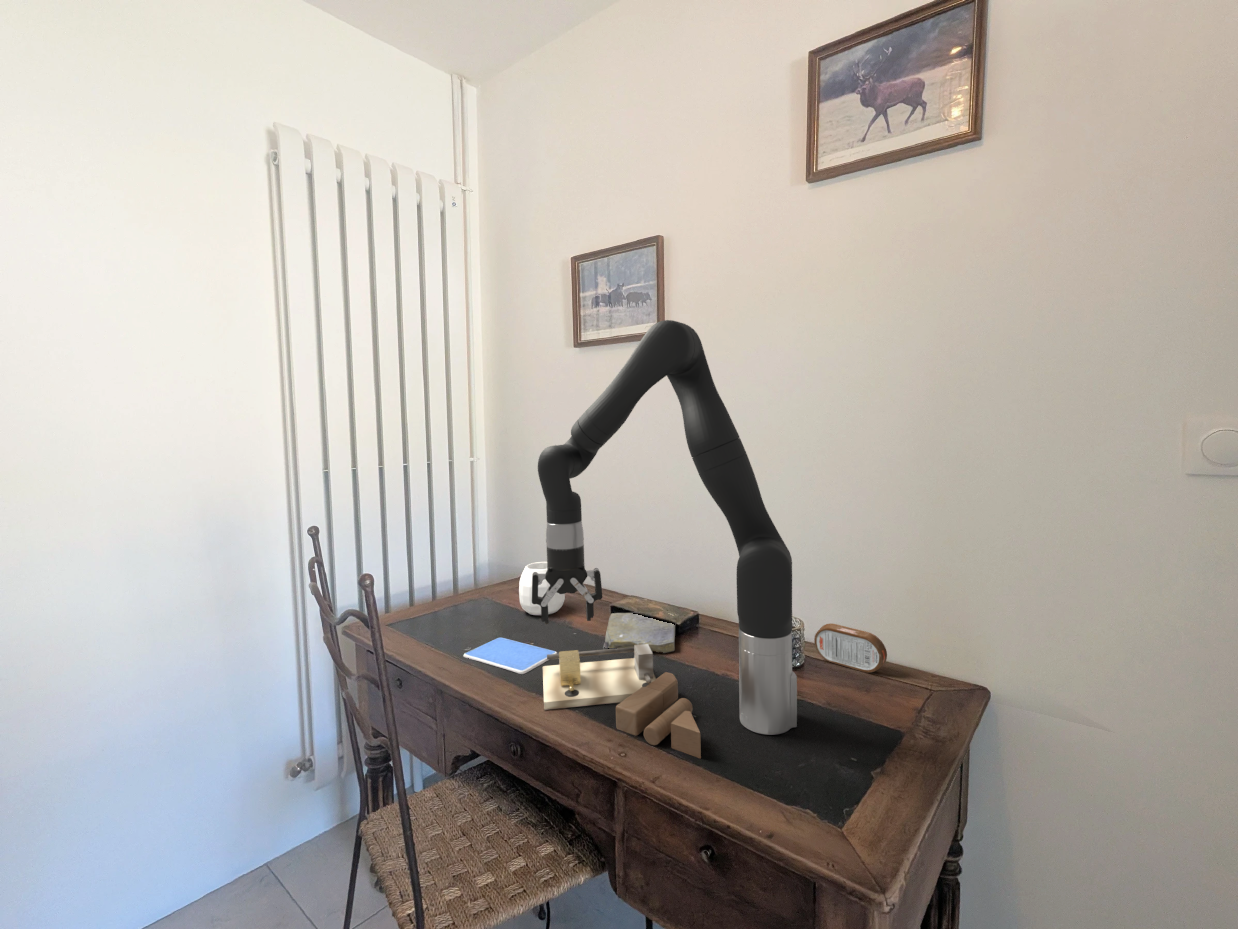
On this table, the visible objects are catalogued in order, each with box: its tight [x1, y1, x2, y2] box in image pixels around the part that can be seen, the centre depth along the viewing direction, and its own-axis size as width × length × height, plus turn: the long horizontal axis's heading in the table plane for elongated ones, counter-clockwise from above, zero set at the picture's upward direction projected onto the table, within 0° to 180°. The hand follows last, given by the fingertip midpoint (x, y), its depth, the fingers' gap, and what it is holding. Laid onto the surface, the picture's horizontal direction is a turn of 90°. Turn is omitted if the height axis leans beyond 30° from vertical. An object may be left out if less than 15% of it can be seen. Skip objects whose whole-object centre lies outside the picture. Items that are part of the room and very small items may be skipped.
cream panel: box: [542, 644, 657, 711], centre depth 118 cm, size 23×16×7 cm
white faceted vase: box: [518, 561, 566, 616], centre depth 164 cm, size 13×13×14 cm
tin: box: [814, 623, 888, 674], centre depth 124 cm, size 15×3×8 cm, turn 47°
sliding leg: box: [558, 649, 581, 692], centre depth 116 cm, size 4×8×5 cm, turn 8°
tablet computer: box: [463, 637, 558, 675], centre depth 135 cm, size 19×13×1 cm, turn 57°
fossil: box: [603, 612, 676, 654], centre depth 143 cm, size 20×5×17 cm
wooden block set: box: [615, 671, 702, 759], centre depth 104 cm, size 17×6×18 cm
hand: (567, 621), depth 117 cm, fingers open, 8 cm apart
